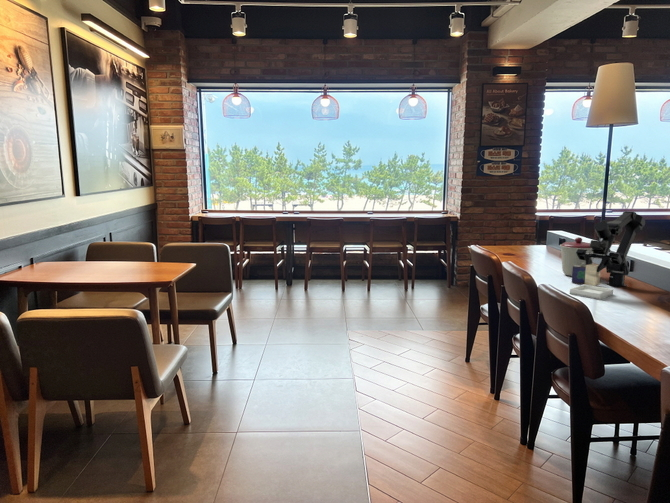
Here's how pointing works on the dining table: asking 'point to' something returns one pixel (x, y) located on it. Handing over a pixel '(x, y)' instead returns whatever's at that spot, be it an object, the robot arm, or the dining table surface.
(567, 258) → the canister
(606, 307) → the dining table surface
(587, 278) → the maple block
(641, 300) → the dining table surface
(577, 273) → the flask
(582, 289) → the tray
